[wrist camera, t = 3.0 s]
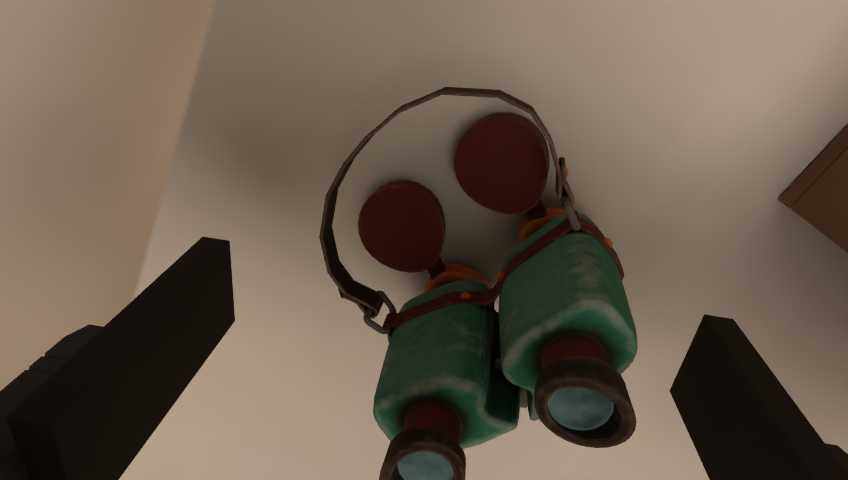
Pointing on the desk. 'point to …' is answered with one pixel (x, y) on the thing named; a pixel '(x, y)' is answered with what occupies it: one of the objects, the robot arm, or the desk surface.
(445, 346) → the binoculars
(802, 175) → the chest
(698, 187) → the desk surface
